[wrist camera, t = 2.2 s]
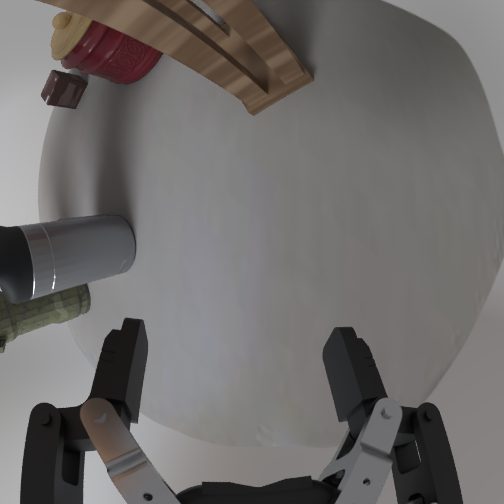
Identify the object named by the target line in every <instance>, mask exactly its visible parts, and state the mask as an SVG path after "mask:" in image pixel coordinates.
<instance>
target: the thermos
mask: <svg viewBox="0 0 504 504" xmlns="http://www.w3.org/2000/svg"><path fill="white" fill-rule="evenodd" d="M89 309H90V294H89V290H88V287H87V284H82V285H79V286H75V287H72V288H68V289H65V290H61V291H58V292H54V293H51V294H48V295H44V296H41V297H38V298H34V299H31V300H28V301H24V302H21V303H17V304H14V303H11V302H9V301H8V300H7V299H6V297H5V296H4V294H3V292H1V291H0V353H3V352H4V349H5V345H6V343H8V342H10V341H13V340H14V339H15V338H16V337H17V336H19V335H21V334H24V333H27V332H29V331H32V330H35V329H37V328H40V327H43V326H46V325H49V324H51V323H62V322H65V321H68V320H71V319H73V318H76V317H78V316H79V315H81V314H84V313H87V312H88V311H89Z"/></svg>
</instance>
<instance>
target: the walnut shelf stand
mask: <svg viewBox="0 0 504 504" xmlns="http://www.w3.org/2000/svg"><path fill="white" fill-rule="evenodd" d="M36 1H40V2H43V3H47V4H50V5H53V6H56V7H59V8H62V9H65V10H68V11H71V12H74V13H76V14H79V15H82V16H84V17H87V18H89V19H92V20H94V21H97V22H99V23H102V24H104V25H106V26H109V27H111V28H113V29H116V30H118V31H120V32H122V33H124V34H127V35H129V36H131V37H133V38H135V39H137V40H139V41H141V42H143V43H145V44H147V45H149V46H151V47H153V48H155V49H157V50H159V51H161V52H162V53H164V54H166V55H168V56H170V57H172V58H173V59H175V60H177V61H179V62H181V63H182V64H184V65H186V66H187V67H189V68H191V69H193V70H194V71H196V72H198V73H199V74H201V75H203V76H204V77H206V78H208V79H209V80H211V81H212V82H214V83H216V84H217V85H219V86H220V87H222V88H223V89H225V90H226V91H228V92H229V93H231V94H233V95H234V96H236V97H237V98H238V99H240V100H241V101H242V102H243V104H244V106H245V107H246V109H247V111H248V112H249V113H250V114H252V115H253V116H254V115H256V114H257V113H259V112H260V111H262V110H264V109H265V108H267V107H269V106H270V105H272V104H274V103H275V102H277V101H279V100H280V99H282V98H284V97H285V96H287V95H289V94H290V93H292V92H294V91H296V90H298V89H299V88H301V87H303V86H305V85H307V84H308V83H310V82H312V81H314V80H313V79H312V77H311V75H310V74H309V72H308V71H307V70H306V68H305V67H304V66H303V64H302V63H301V61H300V60H299V59H298V58H297V56H296V55H295V54H294V52H293V51H292V50H291V49H290V47H289V46H288V45H287V43H286V42H285V41H284V40H283V39H282V37H281V36H280V35H279V34H278V33H277V31H276V30H275V29H274V28H273V27H272V25H271V24H270V23H269V22H268V21H267V19H266V18H265V17H264V16H263V14H262V13H261V12H260V10H259V9H258V8H257V7H256V5H255V4H254V3H253V2H252V0H202V1H203V2H204V3H205V4H207V5H208V6H209V7H210V8H211V9H212V10H213V11H214V12H216V13H217V14H218V15H219V16H220V17H221V18H222V19H223V20H224V21H225V22H226V23H224V24H223V25H221V26H220V25H219V24H218V23H217V22H216V21H214V20H213V19H212V18H211V17H210V16H209V15H207V14H206V13H205V12H204V11H203V10H201V9H200V8H199V7H198V6H197V5H195V4H194V3H193V2H192V1H190V0H36Z"/></svg>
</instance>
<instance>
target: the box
mask: <svg viewBox="0 0 504 504" xmlns="http://www.w3.org/2000/svg"><path fill="white" fill-rule="evenodd" d="M86 86H87V82H85V81H84V80H83V79H82V78H81V77H79V76H77V75H73V74H69V73H65V72H60V71H56V70H52V71H51V73H50V76H49V78H48V80H47V82H46V84H45V87H44V89H43V91H42V93H41V97H42V98H43V100H44V101H45V103H46V104H47V105H52V106H59V107H65V108H72V109H76V106H77V104H78V102H79V100H80V98H81V96H82V93H83V91H84V89H85V87H86Z"/></svg>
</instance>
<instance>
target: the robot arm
mask: <svg viewBox="0 0 504 504" xmlns="http://www.w3.org/2000/svg"><path fill="white" fill-rule="evenodd" d="M134 257H135V240H134V236H133V233H132V230H131V228H130V226H129V224H128V223H127V222H126V221H125V220H124V219H123V218H122V217H120V216H115V215H113V216H107V215H96V216H85V217H74V218H65V219H59V220H58V221H53V222H45V223H38V224H30V225H23V226H14V227H4V226H0V288H1V290H2V292H3V294H4V296H5V297H6V299H7V300H8V301H9V302H11V303H14V304H17V303H21V302H24V301H28V300H31V299H34V298H38V297H41V296H44V295H48V294H51V293H54V292H58V291H61V290H65V289H68V288H72V287H75V286H79V285H82V284H86V283H89V282H93V281H96V280H100V279H103V278H107V277H110V276H114V275H117V274H121V273H124V272H126V271H127V270H129V269H130V267H131V266H132V263H133V261H134ZM147 355H148V340H147V335H146V330H145V325H144V321H143V320H142V319H133V318H125V319H124V321H123V325H122V329H121V330H115V329H112V331H111V332H110V333H109V334H108V335H107V337H106V338H105V340H104V343H103V347H102V352H101V354H100V358H99V361H98V365H97V369H96V373H95V377H94V381H93V385H92V389H91V393H90V395H89V397H88V399H87V400H86V401H85V402H84V403H83V404H81V405H79V406H77V407H68V408H56V407H54V406H53V405H52V404H49V403H40V404H38V405H36V406H35V407H34V408H33V409H32V411H31V414H30V418H29V424H28V429H27V435H26V442H25V449H24V456H23V466H22V476H21V492H20V504H83V479H84V460H85V451H94V450H97V451H98V453H99V455H100V457H101V459H102V460H103V462H104V464H105V466H106V468H107V472H108V475H109V477H110V479H111V480H112V482H113V483H114V485H115V486H116V488H117V489H118V491H119V492H120V494H121V495H122V497H123V498H124V499H125V501H126V502H127V504H376V502H377V500H378V498H379V496H380V494H381V491H382V489H383V487H384V484H385V482H386V479H387V477H388V475H389V472H390V469H391V468H392V473H393V478H394V484H395V489H396V495H397V501H398V504H463V500H462V495H461V490H460V485H459V480H458V476H457V471H456V467H455V464H454V460H453V455H452V452H451V448H450V444H449V441H448V437H447V435H446V431H445V428H444V424H443V421H442V418H441V415H440V412H439V410H438V408H437V407H436V406H435V405H434V404H432V403H427V402H426V403H423V404H421V405H420V406H419V407H418V408H411V407H403V406H400V405H399V404H398V403H397V402H396V401H395V400H393V399H391V398H388V396H387V394H386V391H385V388H384V386H383V383H382V380H381V377H380V375H379V372H378V369H377V367H376V364H375V361H374V359H373V356H372V353H371V351H370V348H369V346H368V345H367V344H366V343H365V342H364V340H363V339H362V338H357V336H356V333H355V331H354V329H353V328H352V327H336V328H334V330H333V332H332V333H331V335H330V337H329V339H328V341H327V342H326V344H325V346H324V348H323V362H324V365H325V369H326V373H327V377H328V380H329V384H330V388H331V392H332V396H333V400H334V404H335V408H336V412H337V416H338V420H339V422H344V421H348V425H349V428H348V429H347V431H346V434H345V436H344V438H343V440H342V442H341V444H340V446H339V448H338V450H337V452H336V454H335V455H334V457H333V459H332V461H331V462H330V463H329V465H328V466H327V467H326V468H325V469H324V470H323V472H322V473H321V475H320V477H319V478H318V480H312V479H311V476H305V477H298V478H289V479H284V480H281V481H278V482H275V483H272V484H269V485H266V486H263V487H252V486H246V485H241V484H236V483H231V482H202V485H197V486H194V487H190V488H188V489H185V490H183V491H181V492H180V493H178V494H177V495H176V494H175V492H174V491H173V490H172V489H171V488H170V486H169V485H168V484H167V483H166V481H165V480H164V479H163V478H162V476H161V475H160V474H159V473H158V471H157V470H156V469H155V467H154V466H153V465H152V463H151V462H150V461H149V459H148V458H147V457H146V455H145V453H144V452H143V451H142V449H141V448H140V446H139V445H138V443H137V442H136V440H135V439H134V437H133V436H132V434H131V433H130V423H138V417H139V409H140V401H141V394H142V387H143V380H144V373H145V367H146V361H147ZM415 440H416V443H417V446H416V443H415ZM417 447H418V451H419V455H420V459H421V463H420V459H419V455H418V451H417Z"/></svg>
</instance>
